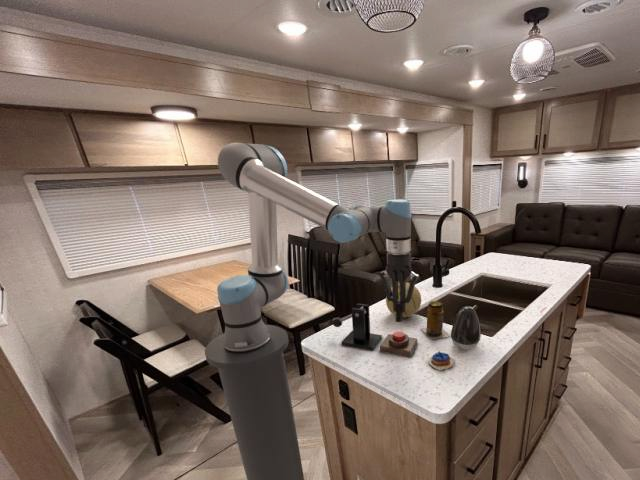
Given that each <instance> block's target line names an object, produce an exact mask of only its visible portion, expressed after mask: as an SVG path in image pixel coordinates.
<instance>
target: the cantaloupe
mask: <svg viewBox="0 0 640 480" xmlns="http://www.w3.org/2000/svg"><path fill="white" fill-rule="evenodd" d="M409 285H410V282H406V297H407V293H408V289H409ZM391 290H392V286H391ZM392 294H393V292H392ZM421 295H422V294H421V293H420V290H419V289H418V287H416V285H415V286H414V290H413V294H412V297H411V300H410V302H409V303H405V312H404V313H403V319H404V318H409V317H412V316H413V315H415V314H416V313H417V312H419V310H420V308H421V304H422V296H421ZM398 299H399V300H398V301H400V283H399V282H398ZM385 305H386V307H387V309H388V311H389V312H390V313H391V314H392V315H394V316H395V317H396V312H394V311H393V302H392V301H388V300H387V296H386V297H385Z"/></svg>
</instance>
